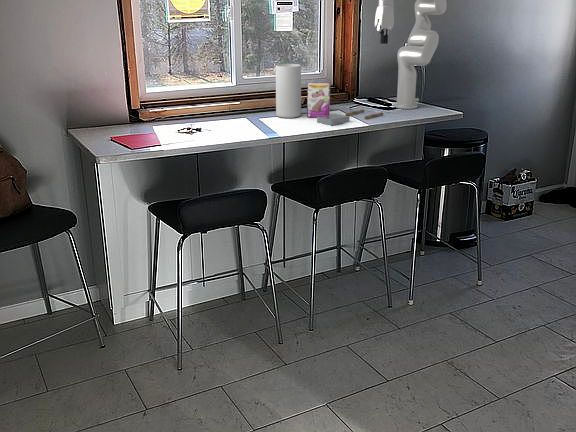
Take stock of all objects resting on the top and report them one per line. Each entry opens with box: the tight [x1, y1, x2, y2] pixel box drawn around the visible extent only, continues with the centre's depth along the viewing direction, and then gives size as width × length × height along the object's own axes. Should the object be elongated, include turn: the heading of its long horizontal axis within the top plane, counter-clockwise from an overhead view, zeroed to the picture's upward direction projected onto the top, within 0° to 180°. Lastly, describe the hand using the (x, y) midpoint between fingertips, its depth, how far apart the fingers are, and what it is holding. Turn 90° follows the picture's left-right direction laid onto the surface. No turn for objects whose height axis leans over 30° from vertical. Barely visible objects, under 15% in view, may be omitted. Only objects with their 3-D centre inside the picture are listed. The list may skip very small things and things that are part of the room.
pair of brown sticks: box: [345, 109, 384, 120], centre depth 318 cm, size 14×13×2 cm
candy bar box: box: [306, 82, 331, 119], centre depth 313 cm, size 11×5×16 cm, turn 84°
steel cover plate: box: [316, 113, 350, 127], centre depth 304 cm, size 12×10×3 cm
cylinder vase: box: [275, 63, 302, 119], centre depth 315 cm, size 12×12×25 cm
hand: (383, 43), depth 308 cm, fingers closed
